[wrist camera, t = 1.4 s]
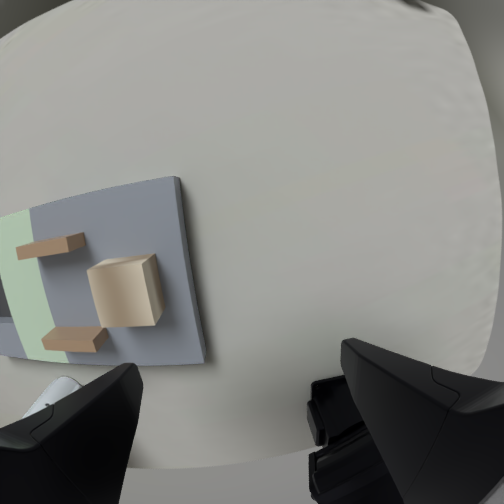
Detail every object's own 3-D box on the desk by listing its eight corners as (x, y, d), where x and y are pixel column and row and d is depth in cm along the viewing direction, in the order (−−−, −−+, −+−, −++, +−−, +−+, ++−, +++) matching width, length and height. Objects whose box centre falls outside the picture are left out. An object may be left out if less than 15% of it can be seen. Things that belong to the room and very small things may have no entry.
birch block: (155, 253, 19) (141, 263, 16) (165, 307, 20) (155, 325, 17) (105, 259, 19) (86, 270, 16) (117, 310, 19) (101, 327, 17)
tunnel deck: (179, 177, 20) (164, 173, 15) (206, 350, 23) (201, 382, 18) (-29, 230, 19) (-56, 236, 14) (2, 346, 22) (-19, 363, 17)
